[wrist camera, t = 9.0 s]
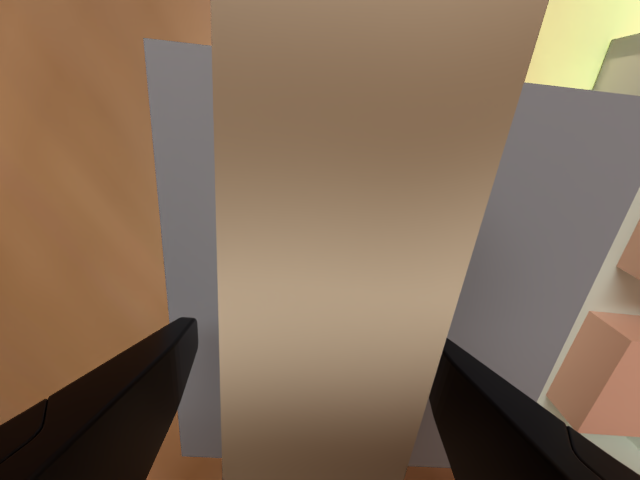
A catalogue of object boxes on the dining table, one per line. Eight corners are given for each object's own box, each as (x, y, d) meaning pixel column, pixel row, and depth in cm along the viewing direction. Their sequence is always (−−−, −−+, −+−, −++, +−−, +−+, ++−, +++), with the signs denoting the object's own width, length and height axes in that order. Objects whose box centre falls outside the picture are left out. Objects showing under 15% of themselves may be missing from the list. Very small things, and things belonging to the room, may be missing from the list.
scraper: (334, 463, 13) (347, 665, 8) (259, 460, 12) (227, 665, 8) (402, 68, 7) (549, -3, 3) (274, 54, 7) (209, -49, 3)
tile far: (576, 432, 14) (545, 395, 16) (681, 439, 14) (639, 402, 16) (631, 341, 12) (589, 310, 14) (750, 351, 12) (693, 320, 14)
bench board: (465, 399, 16) (503, 470, 13) (209, 384, 16) (181, 456, 12) (573, 104, 11) (680, 101, 8) (196, 61, 10) (143, 37, 7)
